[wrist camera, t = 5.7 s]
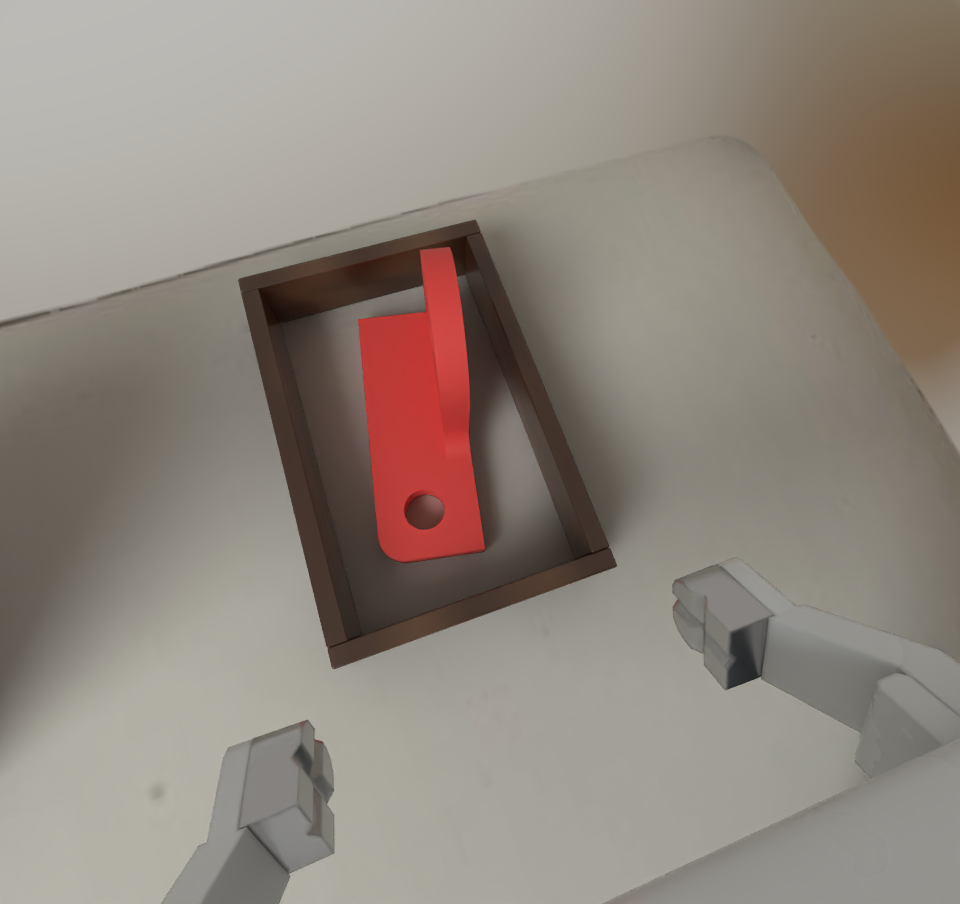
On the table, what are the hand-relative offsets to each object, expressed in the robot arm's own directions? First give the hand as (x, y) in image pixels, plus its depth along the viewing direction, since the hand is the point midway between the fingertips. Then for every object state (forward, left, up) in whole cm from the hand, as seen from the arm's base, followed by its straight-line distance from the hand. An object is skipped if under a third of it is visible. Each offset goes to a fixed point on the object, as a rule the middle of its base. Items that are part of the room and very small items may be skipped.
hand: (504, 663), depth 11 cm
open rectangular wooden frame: (0, -10, -12) cm, 15 cm away
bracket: (0, -10, -12) cm, 15 cm away
